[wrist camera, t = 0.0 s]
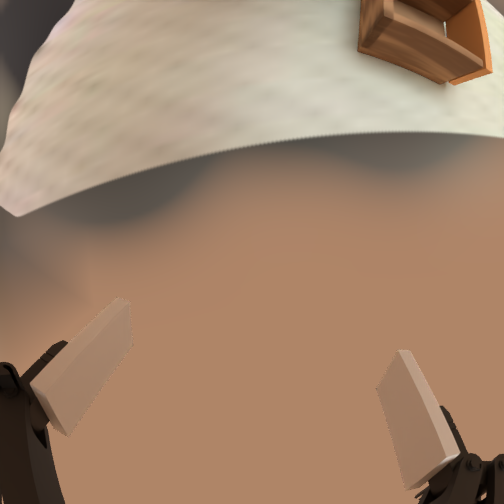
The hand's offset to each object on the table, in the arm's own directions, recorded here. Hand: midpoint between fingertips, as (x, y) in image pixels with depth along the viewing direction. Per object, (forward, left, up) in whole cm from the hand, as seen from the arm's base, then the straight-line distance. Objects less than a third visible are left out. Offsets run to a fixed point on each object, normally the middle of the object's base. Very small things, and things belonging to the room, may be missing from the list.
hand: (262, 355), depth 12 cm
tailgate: (-35, +23, -26) cm, 49 cm away
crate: (-35, +15, -28) cm, 47 cm away
